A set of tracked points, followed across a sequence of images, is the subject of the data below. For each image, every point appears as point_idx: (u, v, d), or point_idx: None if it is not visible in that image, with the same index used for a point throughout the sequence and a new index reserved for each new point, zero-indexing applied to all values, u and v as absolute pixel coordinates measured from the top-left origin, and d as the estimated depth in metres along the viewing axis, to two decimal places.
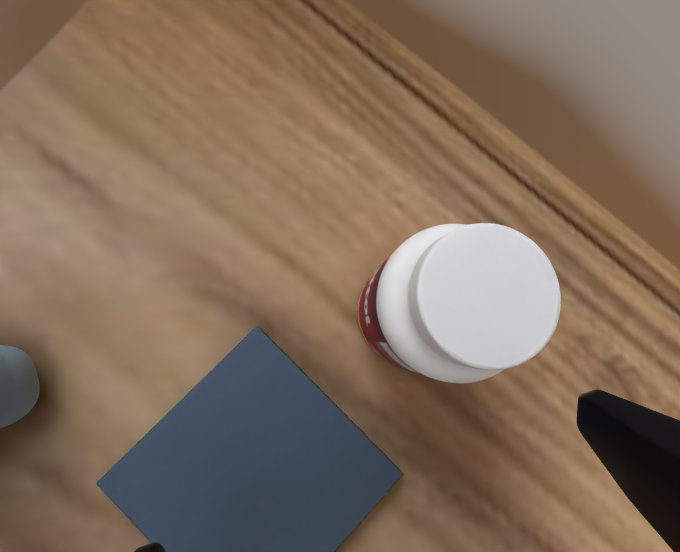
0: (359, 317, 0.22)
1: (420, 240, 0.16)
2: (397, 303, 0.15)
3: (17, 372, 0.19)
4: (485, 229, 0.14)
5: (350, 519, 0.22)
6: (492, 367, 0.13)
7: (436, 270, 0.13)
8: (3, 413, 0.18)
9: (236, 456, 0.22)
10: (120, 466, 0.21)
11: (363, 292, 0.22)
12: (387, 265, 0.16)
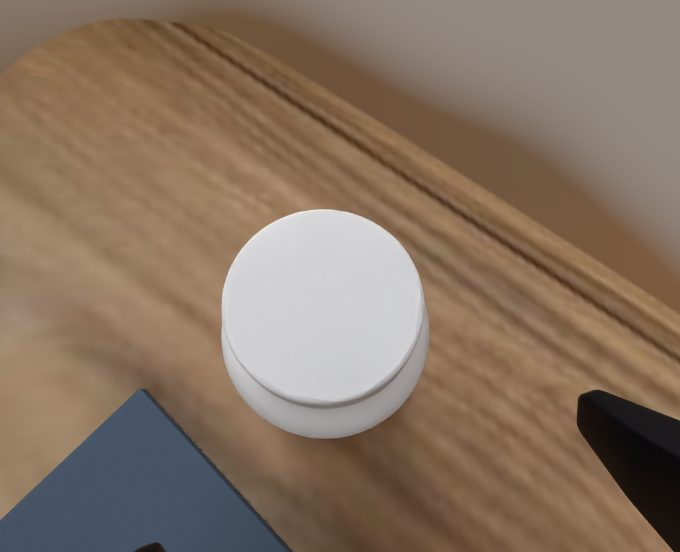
0: None
1: None
2: None
3: None
4: (317, 216, 0.10)
5: None
6: (321, 401, 0.09)
7: (249, 269, 0.10)
8: None
9: None
10: None
11: None
12: None
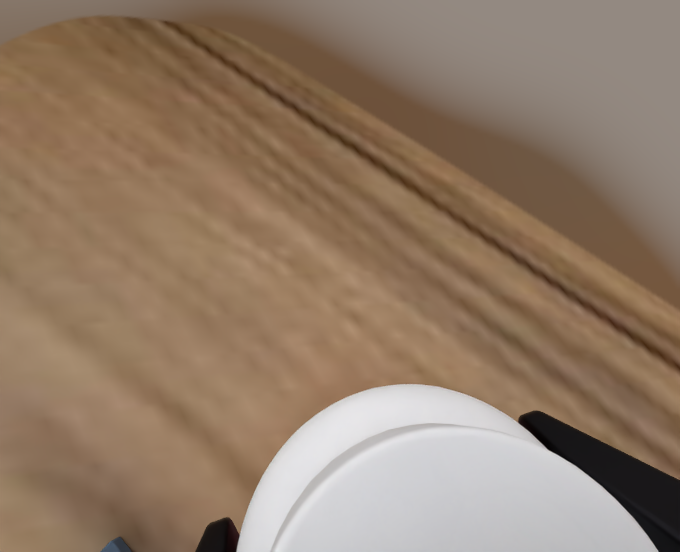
0: None
1: (321, 435, 0.07)
2: None
3: None
4: (445, 447, 0.05)
5: None
6: None
7: None
8: None
9: None
10: None
11: None
12: (256, 490, 0.07)
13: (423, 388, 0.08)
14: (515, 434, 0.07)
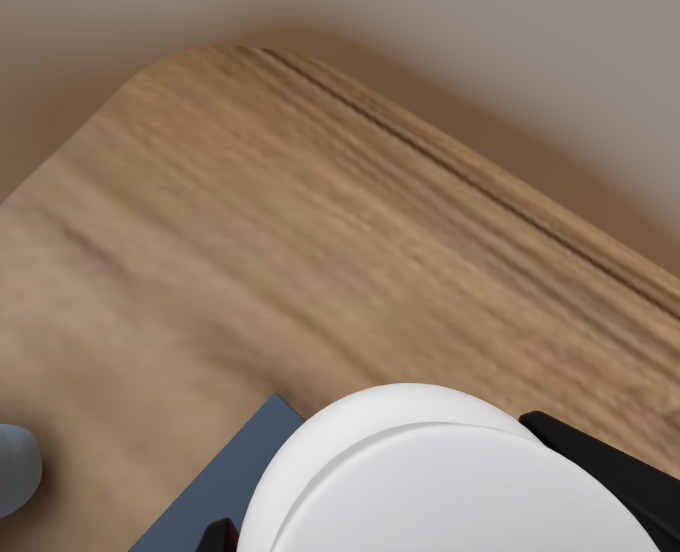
0: None
1: (321, 433, 0.07)
2: None
3: (18, 452, 0.17)
4: (446, 446, 0.05)
5: None
6: None
7: None
8: None
9: None
10: None
11: None
12: (256, 489, 0.07)
13: (423, 387, 0.08)
14: (515, 433, 0.07)
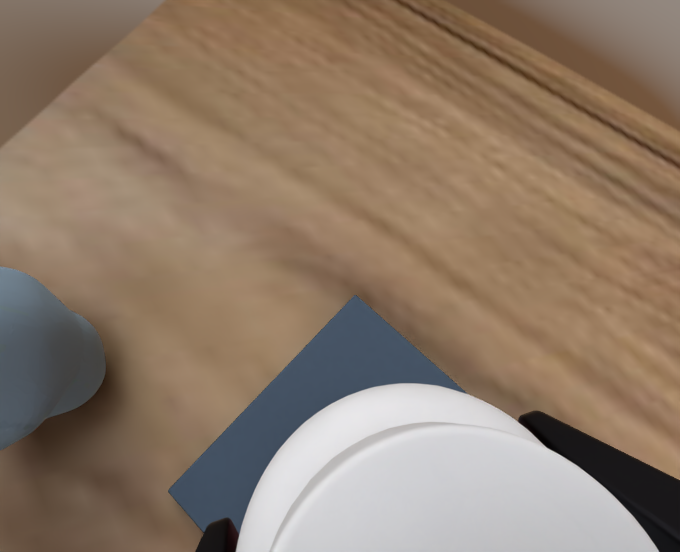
0: None
1: (321, 433, 0.07)
2: None
3: (87, 334, 0.16)
4: (445, 446, 0.05)
5: None
6: None
7: None
8: (70, 377, 0.14)
9: None
10: (198, 467, 0.17)
11: None
12: (255, 489, 0.07)
13: (423, 387, 0.08)
14: (515, 433, 0.07)
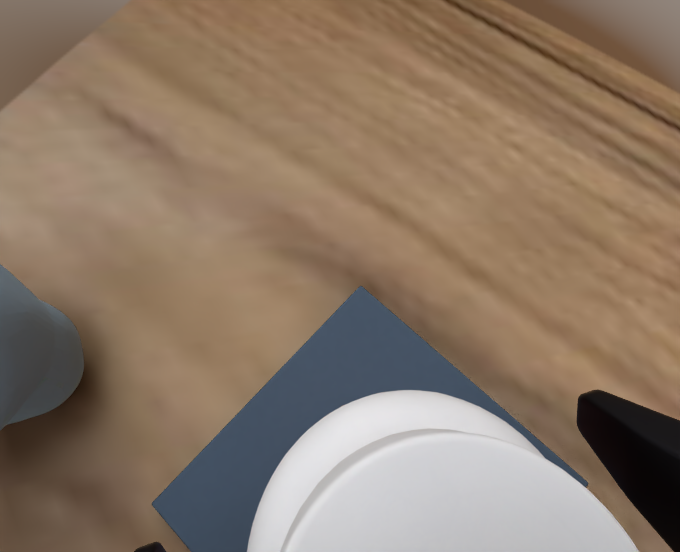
0: None
1: (326, 439, 0.07)
2: None
3: (60, 326, 0.14)
4: (443, 452, 0.05)
5: None
6: None
7: None
8: (37, 375, 0.13)
9: None
10: (185, 477, 0.15)
11: None
12: (265, 491, 0.08)
13: (422, 394, 0.08)
14: (508, 437, 0.07)
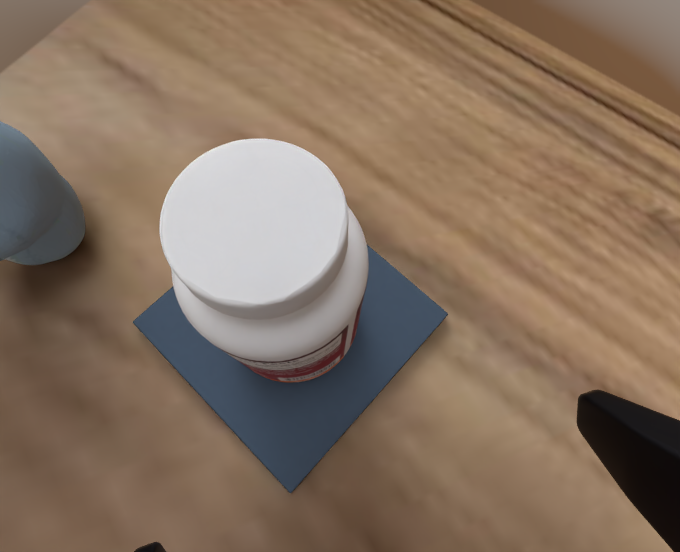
0: None
1: None
2: None
3: (69, 188, 0.20)
4: (254, 144, 0.11)
5: (395, 357, 0.20)
6: (246, 303, 0.10)
7: (187, 190, 0.11)
8: (53, 212, 0.18)
9: None
10: (157, 305, 0.21)
11: None
12: None
13: None
14: None
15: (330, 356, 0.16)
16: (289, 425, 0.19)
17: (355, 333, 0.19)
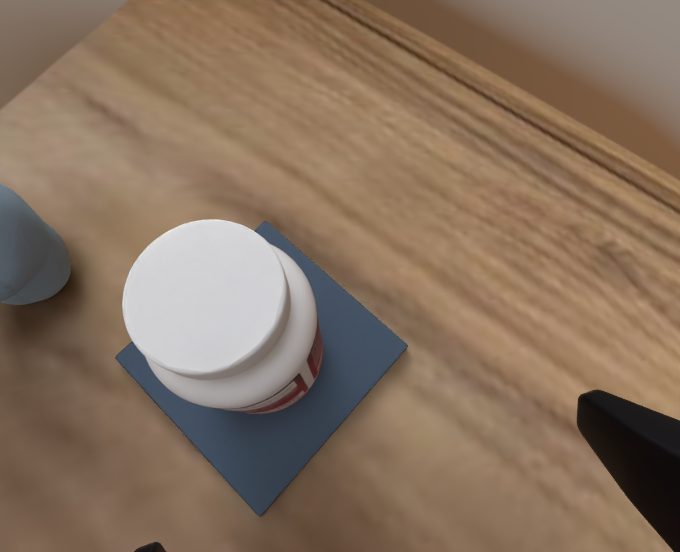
0: None
1: None
2: None
3: (54, 236, 0.21)
4: (206, 225, 0.13)
5: (358, 388, 0.22)
6: (195, 371, 0.11)
7: (147, 269, 0.12)
8: (39, 261, 0.20)
9: None
10: None
11: None
12: None
13: None
14: (274, 251, 0.15)
15: (289, 395, 0.17)
16: (259, 453, 0.21)
17: (319, 368, 0.21)
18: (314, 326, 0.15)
